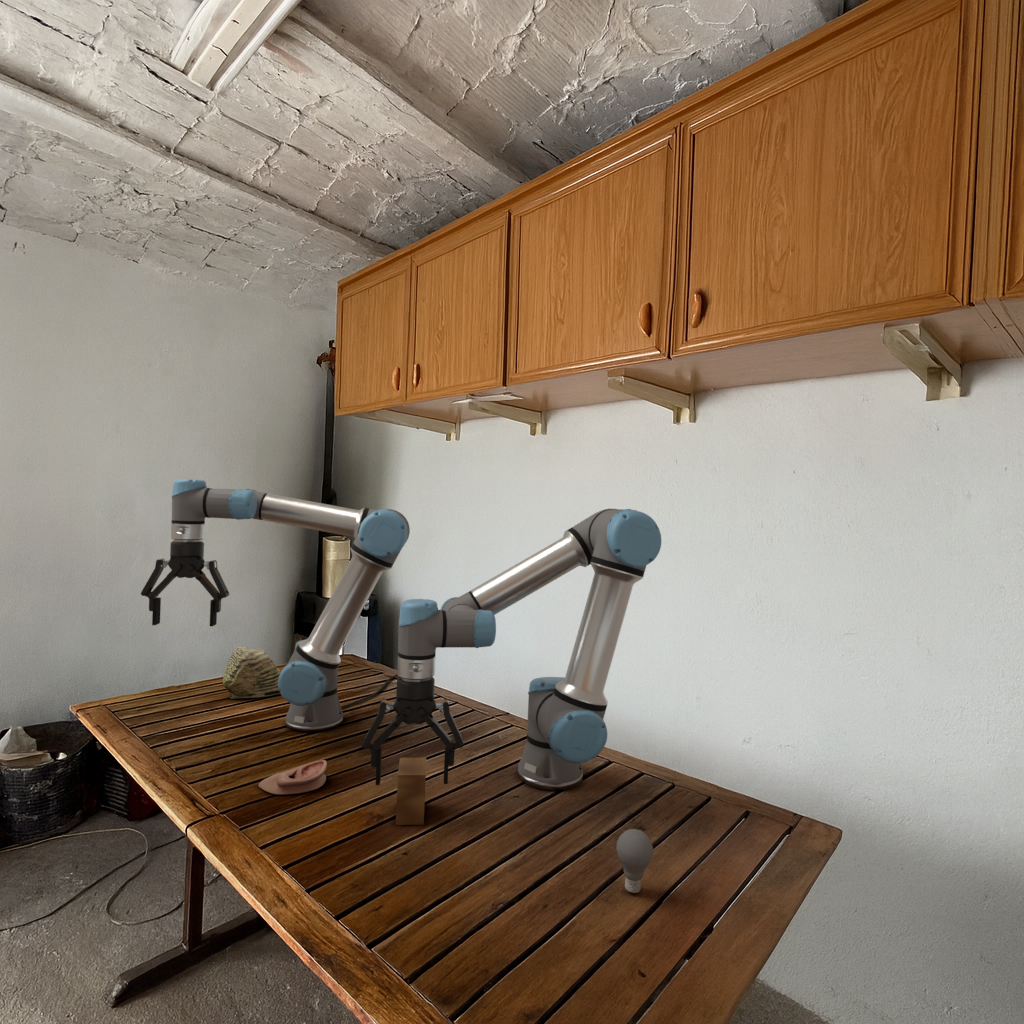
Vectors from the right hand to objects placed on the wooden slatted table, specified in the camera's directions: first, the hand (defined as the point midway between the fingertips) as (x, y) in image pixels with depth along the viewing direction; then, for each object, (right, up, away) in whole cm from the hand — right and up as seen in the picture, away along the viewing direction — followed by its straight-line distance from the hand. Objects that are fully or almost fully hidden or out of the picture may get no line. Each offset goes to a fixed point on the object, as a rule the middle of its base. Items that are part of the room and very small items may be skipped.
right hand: (412, 781), depth 128 cm
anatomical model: (-28, -5, +11) cm, 30 cm away
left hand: (-62, +26, +32) cm, 75 cm away
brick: (0, -7, 0) cm, 7 cm away
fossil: (-60, -3, +70) cm, 93 cm away
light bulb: (+40, -9, -22) cm, 47 cm away
